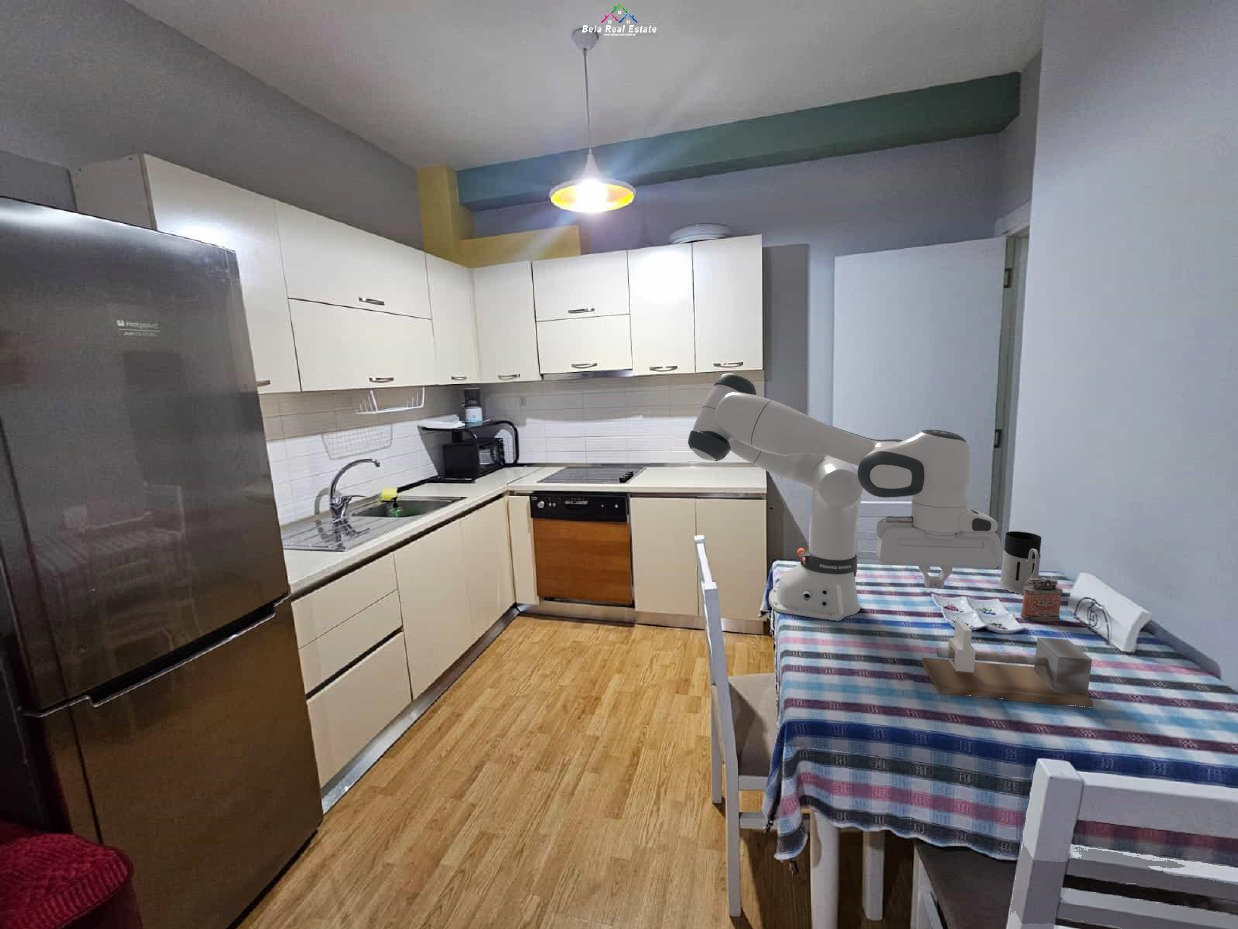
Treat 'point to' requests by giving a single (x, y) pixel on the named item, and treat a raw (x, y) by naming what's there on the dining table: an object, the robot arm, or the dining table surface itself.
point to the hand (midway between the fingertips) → (933, 587)
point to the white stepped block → (962, 648)
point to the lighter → (1041, 600)
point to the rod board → (1019, 675)
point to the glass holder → (1020, 560)
